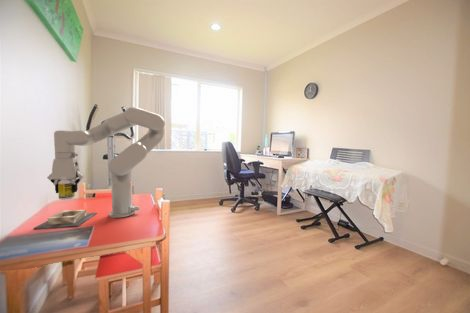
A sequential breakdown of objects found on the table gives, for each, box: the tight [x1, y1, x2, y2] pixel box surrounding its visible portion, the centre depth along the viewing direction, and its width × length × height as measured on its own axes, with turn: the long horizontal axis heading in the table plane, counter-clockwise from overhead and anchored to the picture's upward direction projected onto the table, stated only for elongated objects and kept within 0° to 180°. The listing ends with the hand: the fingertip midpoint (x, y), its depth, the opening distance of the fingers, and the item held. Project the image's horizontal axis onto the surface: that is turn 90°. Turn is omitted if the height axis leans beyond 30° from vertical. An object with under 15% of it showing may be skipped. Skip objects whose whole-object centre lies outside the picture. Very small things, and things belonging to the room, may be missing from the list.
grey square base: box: [33, 209, 98, 230], centre depth 104 cm, size 18×18×4 cm
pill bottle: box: [57, 177, 76, 201], centre depth 103 cm, size 6×6×11 cm
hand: (66, 192), depth 103 cm, fingers closed on pill bottle, 6 cm apart
